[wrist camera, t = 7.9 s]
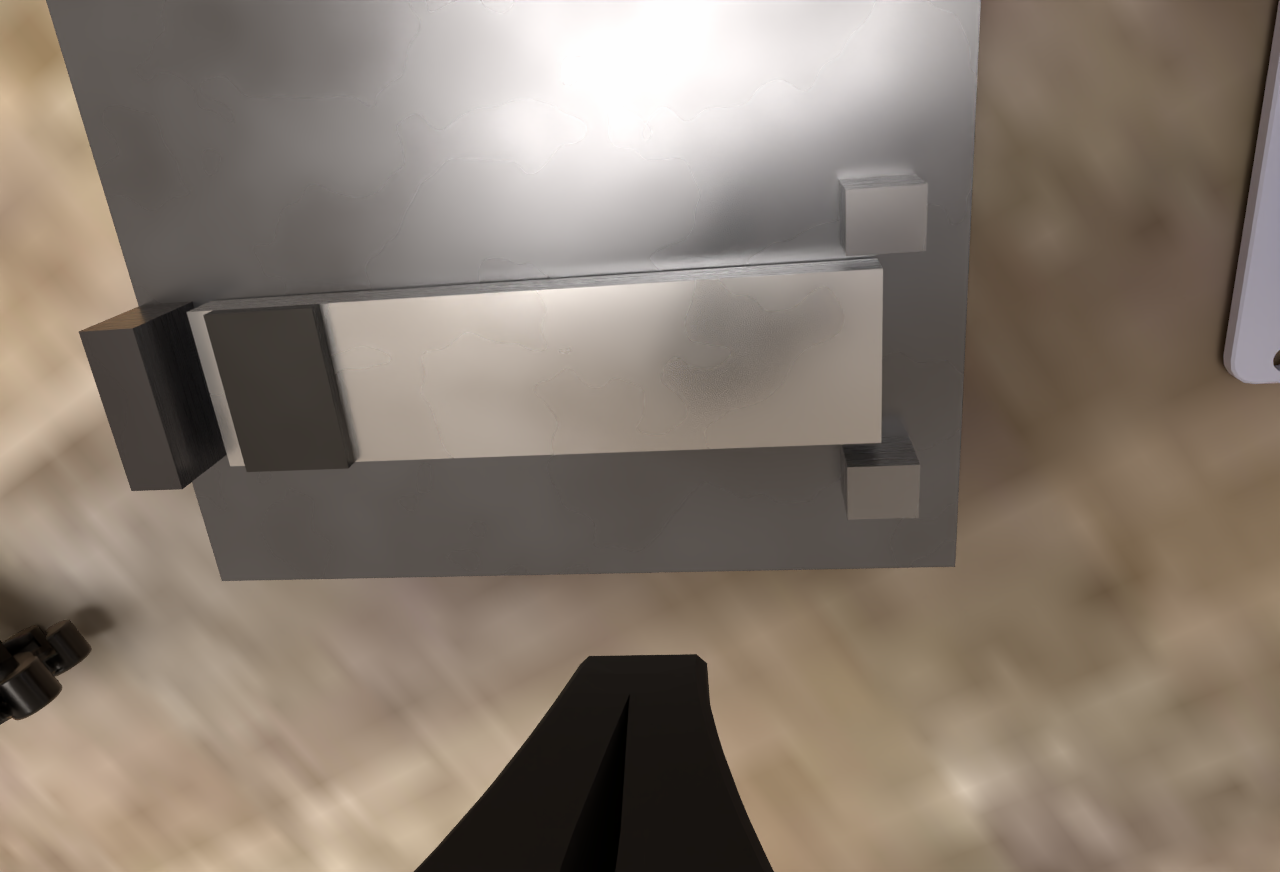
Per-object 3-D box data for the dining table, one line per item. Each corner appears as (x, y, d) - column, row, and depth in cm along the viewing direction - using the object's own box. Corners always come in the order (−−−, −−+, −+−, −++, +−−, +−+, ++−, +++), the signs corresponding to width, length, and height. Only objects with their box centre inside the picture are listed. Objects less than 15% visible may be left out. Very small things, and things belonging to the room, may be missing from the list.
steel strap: (877, 257, 15) (885, 272, 14) (875, 425, 16) (883, 449, 15) (210, 300, 17) (176, 316, 16) (251, 449, 18) (221, 473, 17)
